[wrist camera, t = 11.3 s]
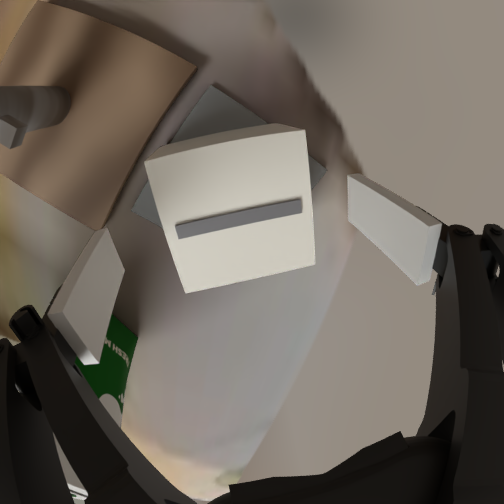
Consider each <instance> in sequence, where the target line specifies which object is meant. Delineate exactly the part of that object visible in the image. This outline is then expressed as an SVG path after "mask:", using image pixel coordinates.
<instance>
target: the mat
mask: <svg viewBox="0 0 504 504" xmlns="http://www.w3.org/2000/svg"><path fill="white" fill-rule="evenodd" d="M266 124H268V123H267V122H265V121H264V120H263V119H261V118H260V117H258V116H257V115H255V114H254V113H253V112H251V111H250V110H248V109H247V108H245V107H244V106H242V105H241V104H239V103H238V102H236V101H235V100H233V99H232V98H230V97H229V96H227V95H226V94H224V93H223V92H221V91H220V90H218V89H216V88H215V87H213V86H212V85H210V86H209V88H208V89H207V90H206V92H205V93H204V94H203V96H202V97H201V99H200V100H199V101H198V103H197V104H196V105H195V107H194V108H193V110H192V111H191V113H190V114H189V115H188V117H187V118H186V120H185V121H184V123H183V124H182V126H181V127H180V129H179V130H178V132H177V133H176V135H175V136H174V138H173V139H172V141H171V143H175V142H179V141H183V140H187V139H192V138H196V137H200V136H205V135H210V134H215V133H219V132H225V131H230V130H235V129H241V128H247V127H253V126H259V125H266ZM171 143H170V144H171ZM308 162H309V173H310V184H311V190H312V189H313V188H314V187H315V185H316V184H317V183H318V182H319V180H320V179H321V178H322V176H323V175H324V174H325V173H326V171H327V170H326V169H325V168H324V167H323V166H322V165H321V164H319V163H318V162H317V161H316V160H315V159H313V158H312V157H311V156H310V155H308ZM131 211H132V212H134V213H136V214H138V215H139V216H141V217H143V218H145V219H147V220H149V221H150V222H152V223H154V224H156V225H158V226H159V227H161V228H163V226H162V223H161V220H160V217H159V213H158V210H157V207H156V203H155V200H154V196H153V193H152V189H151V186H150V182H149V179H148V181H147V183H146V184H145V186H144V188H143V190H142V191H141V193H140V195H139V197H138V199H137V201H136V203H135V205H134V206H133V208H132V210H131Z"/></svg>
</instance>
